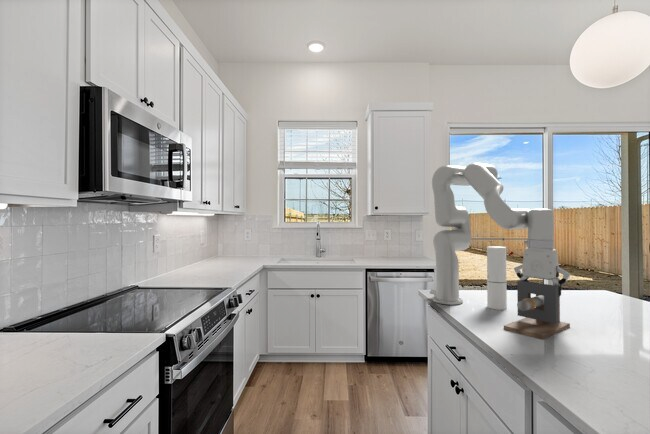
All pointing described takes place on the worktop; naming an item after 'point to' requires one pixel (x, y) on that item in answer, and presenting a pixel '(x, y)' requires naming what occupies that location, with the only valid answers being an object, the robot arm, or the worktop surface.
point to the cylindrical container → (496, 278)
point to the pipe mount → (532, 325)
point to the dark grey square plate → (550, 301)
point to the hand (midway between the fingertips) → (540, 294)
